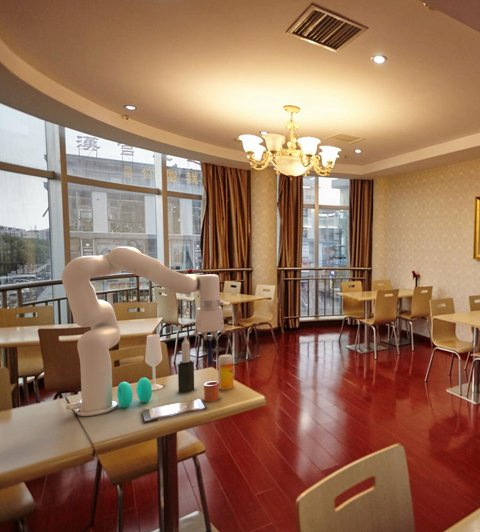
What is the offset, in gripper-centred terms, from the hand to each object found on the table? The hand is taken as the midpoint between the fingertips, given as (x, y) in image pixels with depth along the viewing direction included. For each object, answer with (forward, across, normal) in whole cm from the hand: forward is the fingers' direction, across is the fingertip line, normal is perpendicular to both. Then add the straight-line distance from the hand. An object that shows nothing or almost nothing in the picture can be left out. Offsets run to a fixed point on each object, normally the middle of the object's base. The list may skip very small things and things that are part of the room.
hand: (210, 348), depth 161 cm
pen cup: (+22, 0, 0) cm, 22 cm away
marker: (+7, 0, 0) cm, 7 cm away
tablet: (+22, +14, +4) cm, 26 cm away
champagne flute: (+22, +18, -31) cm, 42 cm away
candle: (+22, +6, -17) cm, 29 cm away
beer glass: (+22, -8, -11) cm, 26 cm away
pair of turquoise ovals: (+22, +26, -13) cm, 36 cm away
